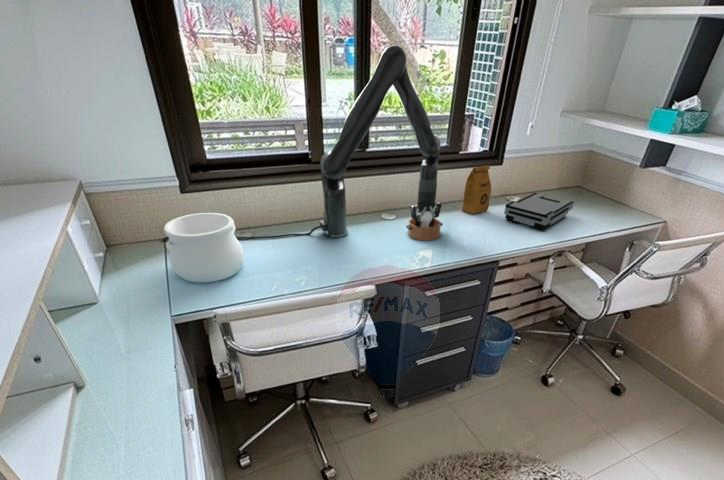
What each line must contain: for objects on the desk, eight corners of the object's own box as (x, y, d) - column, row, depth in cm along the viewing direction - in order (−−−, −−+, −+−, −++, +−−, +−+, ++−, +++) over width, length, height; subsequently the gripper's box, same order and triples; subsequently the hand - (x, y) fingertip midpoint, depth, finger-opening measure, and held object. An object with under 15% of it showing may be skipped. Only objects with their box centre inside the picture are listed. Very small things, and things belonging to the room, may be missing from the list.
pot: (203, 294, 134) (188, 244, 124) (158, 274, 144) (141, 227, 134) (261, 265, 152) (253, 219, 142) (218, 249, 162) (207, 206, 152)
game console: (570, 215, 204) (575, 199, 199) (543, 233, 185) (547, 215, 180) (531, 206, 215) (535, 190, 210) (502, 221, 196) (505, 204, 191)
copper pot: (414, 242, 172) (414, 230, 169) (400, 230, 183) (401, 219, 179) (447, 237, 178) (448, 225, 174) (433, 226, 188) (434, 214, 185)
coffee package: (490, 212, 206) (498, 167, 193) (472, 216, 200) (479, 170, 187) (477, 206, 212) (484, 162, 199) (459, 210, 207) (465, 165, 194)
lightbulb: (421, 237, 177) (423, 213, 170) (414, 232, 181) (416, 208, 175) (433, 235, 179) (435, 211, 173) (426, 230, 183) (428, 206, 177)
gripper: (438, 184, 174) (434, 222, 183) (408, 188, 169) (406, 226, 179) (446, 189, 168) (442, 228, 178) (415, 193, 163) (413, 232, 173)
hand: (424, 227), depth 178 cm, fingers closed on lightbulb, 5 cm apart
